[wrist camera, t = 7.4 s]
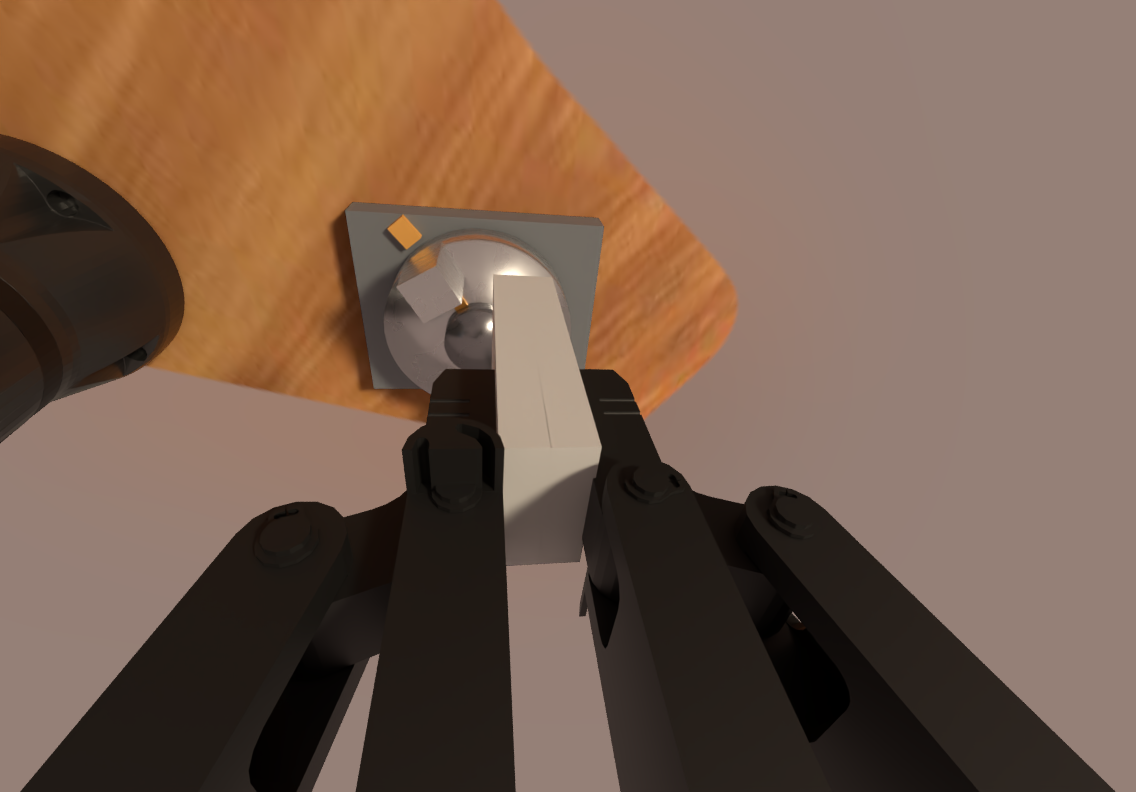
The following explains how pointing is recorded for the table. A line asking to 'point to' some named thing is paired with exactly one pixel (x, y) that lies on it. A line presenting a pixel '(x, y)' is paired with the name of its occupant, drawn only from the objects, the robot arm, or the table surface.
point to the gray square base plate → (400, 230)
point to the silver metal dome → (454, 301)
